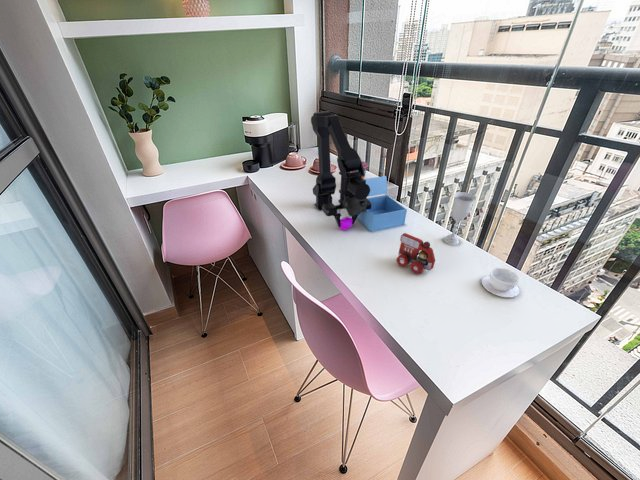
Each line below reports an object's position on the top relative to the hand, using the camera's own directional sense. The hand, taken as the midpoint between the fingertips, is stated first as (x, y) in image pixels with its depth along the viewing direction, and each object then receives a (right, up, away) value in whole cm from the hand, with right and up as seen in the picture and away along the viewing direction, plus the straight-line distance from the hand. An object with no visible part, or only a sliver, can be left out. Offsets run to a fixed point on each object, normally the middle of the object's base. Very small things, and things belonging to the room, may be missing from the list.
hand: (345, 225), depth 123 cm
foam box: (+15, +3, +5) cm, 16 cm away
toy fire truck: (+20, -16, -21) cm, 33 cm away
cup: (+10, +23, +33) cm, 42 cm away
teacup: (+43, -22, -30) cm, 57 cm away
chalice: (+38, -7, -9) cm, 40 cm away
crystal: (0, -1, +1) cm, 1 cm away
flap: (+12, +17, +5) cm, 21 cm away
